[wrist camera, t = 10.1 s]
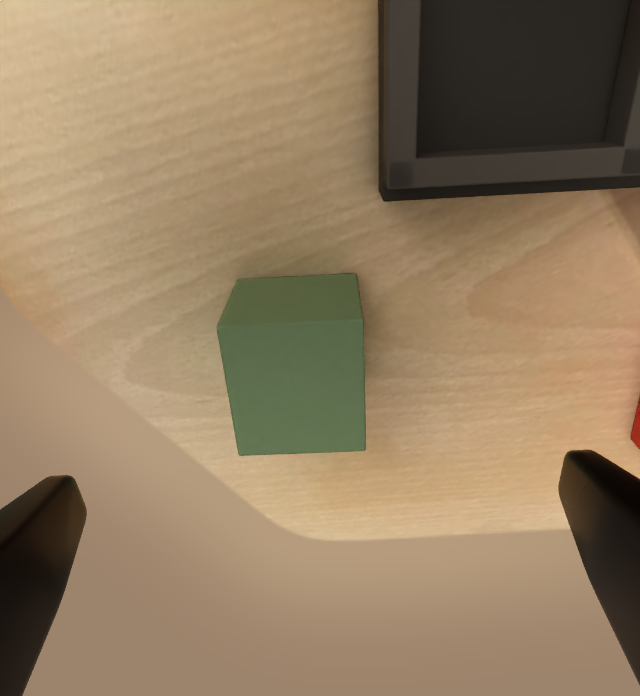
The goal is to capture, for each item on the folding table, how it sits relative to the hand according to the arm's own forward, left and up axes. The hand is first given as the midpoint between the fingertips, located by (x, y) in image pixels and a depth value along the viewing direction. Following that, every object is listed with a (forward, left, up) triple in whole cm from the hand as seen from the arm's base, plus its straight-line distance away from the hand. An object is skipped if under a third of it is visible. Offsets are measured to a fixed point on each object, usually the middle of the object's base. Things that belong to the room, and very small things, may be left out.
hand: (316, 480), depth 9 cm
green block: (-1, -2, -11) cm, 11 cm away
